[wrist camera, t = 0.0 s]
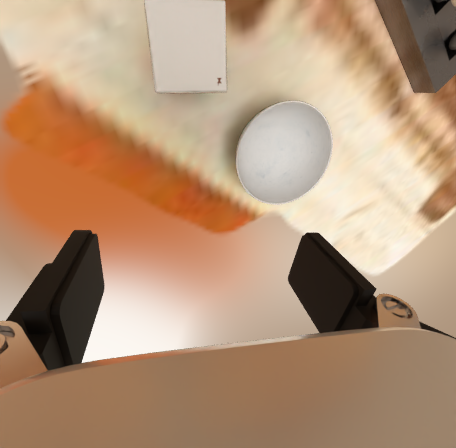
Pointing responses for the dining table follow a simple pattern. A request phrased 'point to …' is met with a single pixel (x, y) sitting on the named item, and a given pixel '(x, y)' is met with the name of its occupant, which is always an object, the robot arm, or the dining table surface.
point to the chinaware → (283, 152)
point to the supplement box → (187, 45)
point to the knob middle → (454, 0)
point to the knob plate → (422, 40)
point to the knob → (452, 43)
